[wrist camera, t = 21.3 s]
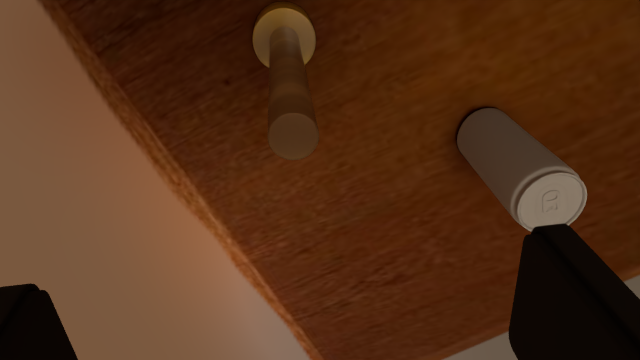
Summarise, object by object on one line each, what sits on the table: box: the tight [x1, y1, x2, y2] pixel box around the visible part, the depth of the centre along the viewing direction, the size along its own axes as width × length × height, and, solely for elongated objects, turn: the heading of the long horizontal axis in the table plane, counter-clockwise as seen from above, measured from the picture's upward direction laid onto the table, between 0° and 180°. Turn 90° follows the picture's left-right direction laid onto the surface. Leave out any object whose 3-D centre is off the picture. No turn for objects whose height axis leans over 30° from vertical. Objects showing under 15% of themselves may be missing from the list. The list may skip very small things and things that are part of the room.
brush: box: [252, 1, 319, 160], centre depth 28 cm, size 4×4×20 cm
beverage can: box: [457, 108, 587, 232], centre depth 37 cm, size 5×5×12 cm
